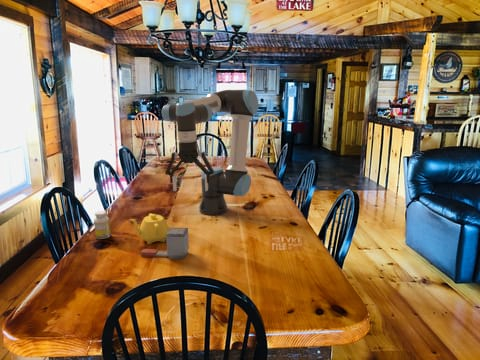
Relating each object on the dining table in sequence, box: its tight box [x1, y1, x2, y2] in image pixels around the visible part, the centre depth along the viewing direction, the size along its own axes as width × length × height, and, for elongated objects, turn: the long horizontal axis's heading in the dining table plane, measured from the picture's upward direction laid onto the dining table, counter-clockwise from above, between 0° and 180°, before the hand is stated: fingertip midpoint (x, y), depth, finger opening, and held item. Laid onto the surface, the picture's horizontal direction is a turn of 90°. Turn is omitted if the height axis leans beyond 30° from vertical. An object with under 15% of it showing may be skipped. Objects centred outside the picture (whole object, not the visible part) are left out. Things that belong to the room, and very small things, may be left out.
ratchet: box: [140, 248, 189, 261], centre depth 152 cm, size 7×18×6 cm, turn 85°
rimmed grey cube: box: [165, 227, 190, 257], centre depth 151 cm, size 7×7×9 cm
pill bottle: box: [93, 210, 112, 240], centre depth 170 cm, size 6×6×12 cm
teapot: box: [128, 213, 170, 245], centre depth 166 cm, size 14×14×12 cm
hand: (190, 190), depth 160 cm, fingers open, 13 cm apart
